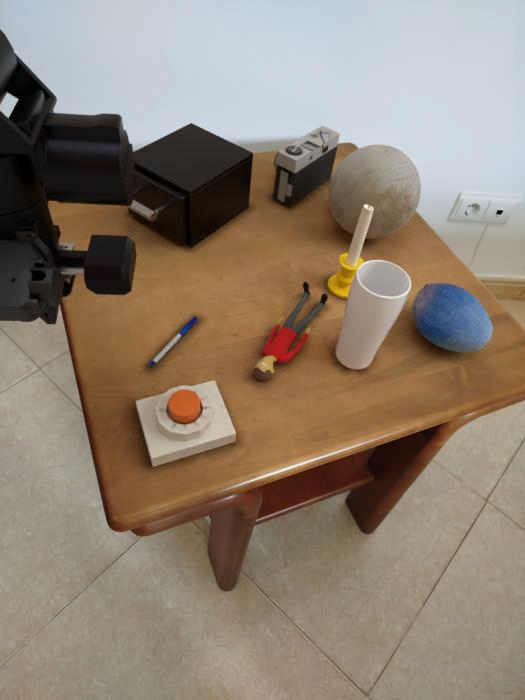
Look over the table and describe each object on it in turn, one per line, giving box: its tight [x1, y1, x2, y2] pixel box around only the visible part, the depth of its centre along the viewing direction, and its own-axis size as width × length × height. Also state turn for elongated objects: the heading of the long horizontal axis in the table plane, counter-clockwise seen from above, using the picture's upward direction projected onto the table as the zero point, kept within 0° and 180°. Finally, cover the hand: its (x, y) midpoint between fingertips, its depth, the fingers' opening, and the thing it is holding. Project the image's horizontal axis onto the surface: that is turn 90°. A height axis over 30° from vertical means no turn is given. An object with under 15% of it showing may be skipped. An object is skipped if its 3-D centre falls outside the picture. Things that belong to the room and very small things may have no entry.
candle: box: [327, 203, 374, 299], centre depth 71 cm, size 5×5×16 cm
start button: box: [168, 389, 200, 424], centre depth 56 cm, size 4×4×2 cm
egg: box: [411, 282, 494, 354], centre depth 70 cm, size 9×9×15 cm
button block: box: [135, 379, 237, 468], centre depth 58 cm, size 10×8×4 cm
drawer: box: [125, 167, 188, 246], centre depth 80 cm, size 18×12×9 cm
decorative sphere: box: [328, 144, 422, 240], centre depth 81 cm, size 15×15×15 cm
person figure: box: [252, 281, 329, 382], centre depth 68 cm, size 5×4×18 cm
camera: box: [272, 125, 341, 209], centre depth 90 cm, size 14×8×10 cm, turn 141°
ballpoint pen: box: [148, 316, 198, 368], centre depth 67 cm, size 10×1×1 cm, turn 151°
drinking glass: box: [335, 259, 412, 371], centre depth 63 cm, size 7×7×15 cm
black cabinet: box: [133, 122, 254, 249], centre depth 82 cm, size 16×14×11 cm
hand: (52, 321), depth 52 cm, fingers closed
